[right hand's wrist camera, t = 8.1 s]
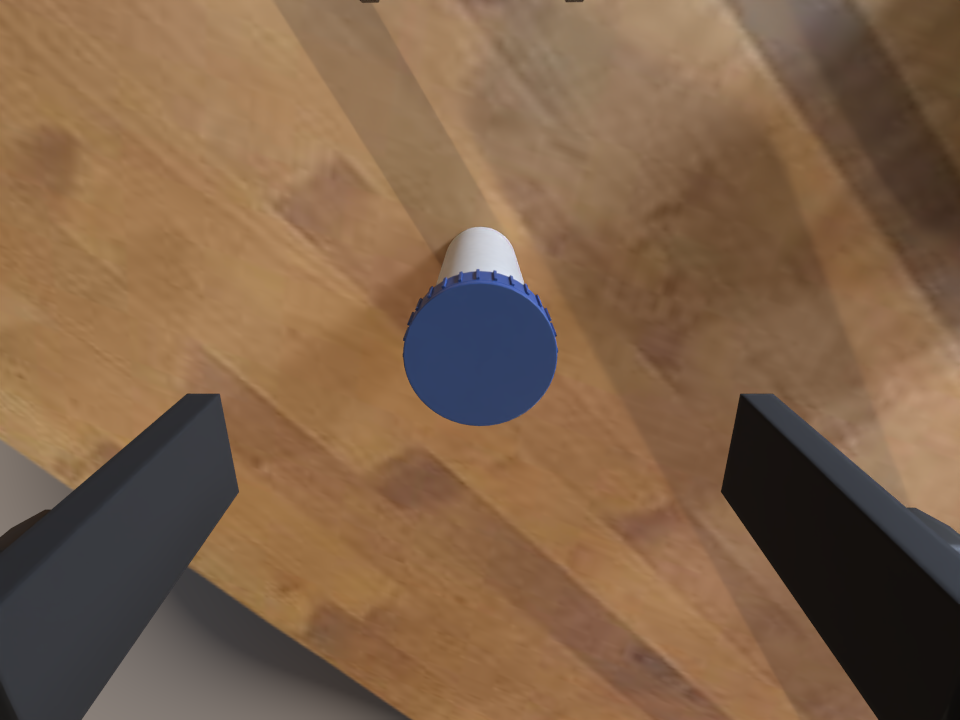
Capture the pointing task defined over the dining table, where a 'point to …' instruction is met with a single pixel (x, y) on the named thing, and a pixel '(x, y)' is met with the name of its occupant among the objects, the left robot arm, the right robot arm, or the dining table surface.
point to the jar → (480, 254)
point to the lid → (480, 348)
